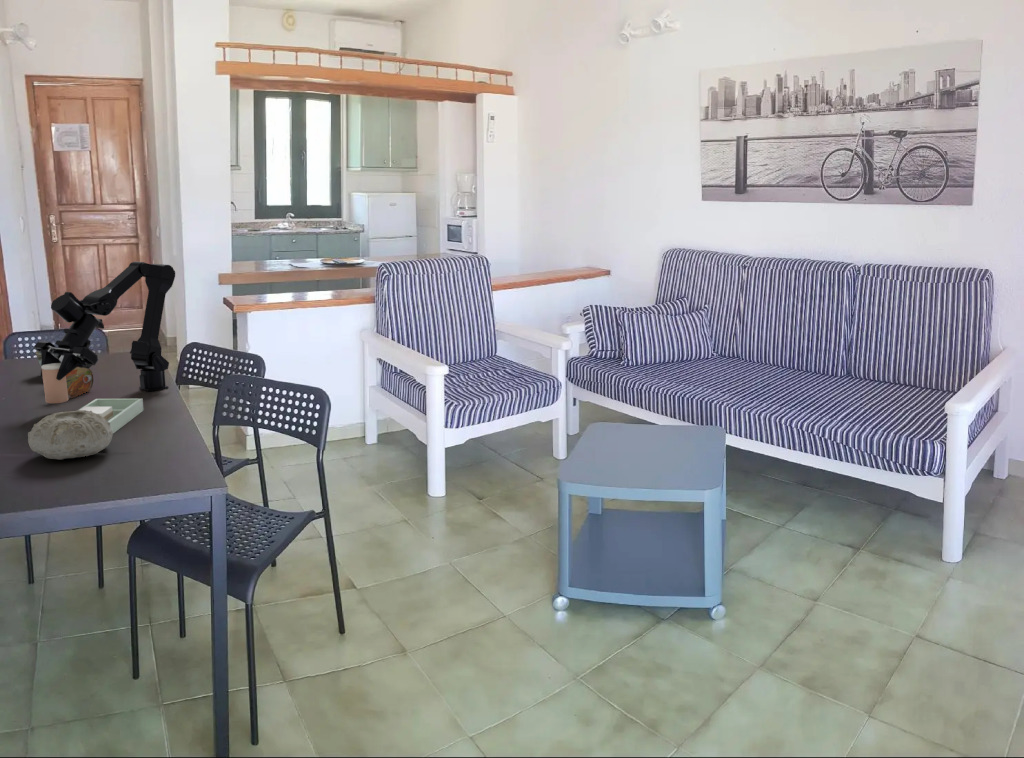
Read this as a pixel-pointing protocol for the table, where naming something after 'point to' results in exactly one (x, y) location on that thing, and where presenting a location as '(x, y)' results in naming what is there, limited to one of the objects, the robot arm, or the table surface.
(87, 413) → the grey rounded lump
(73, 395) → the tin
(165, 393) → the table surface
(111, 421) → the tote
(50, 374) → the canister
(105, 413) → the block
